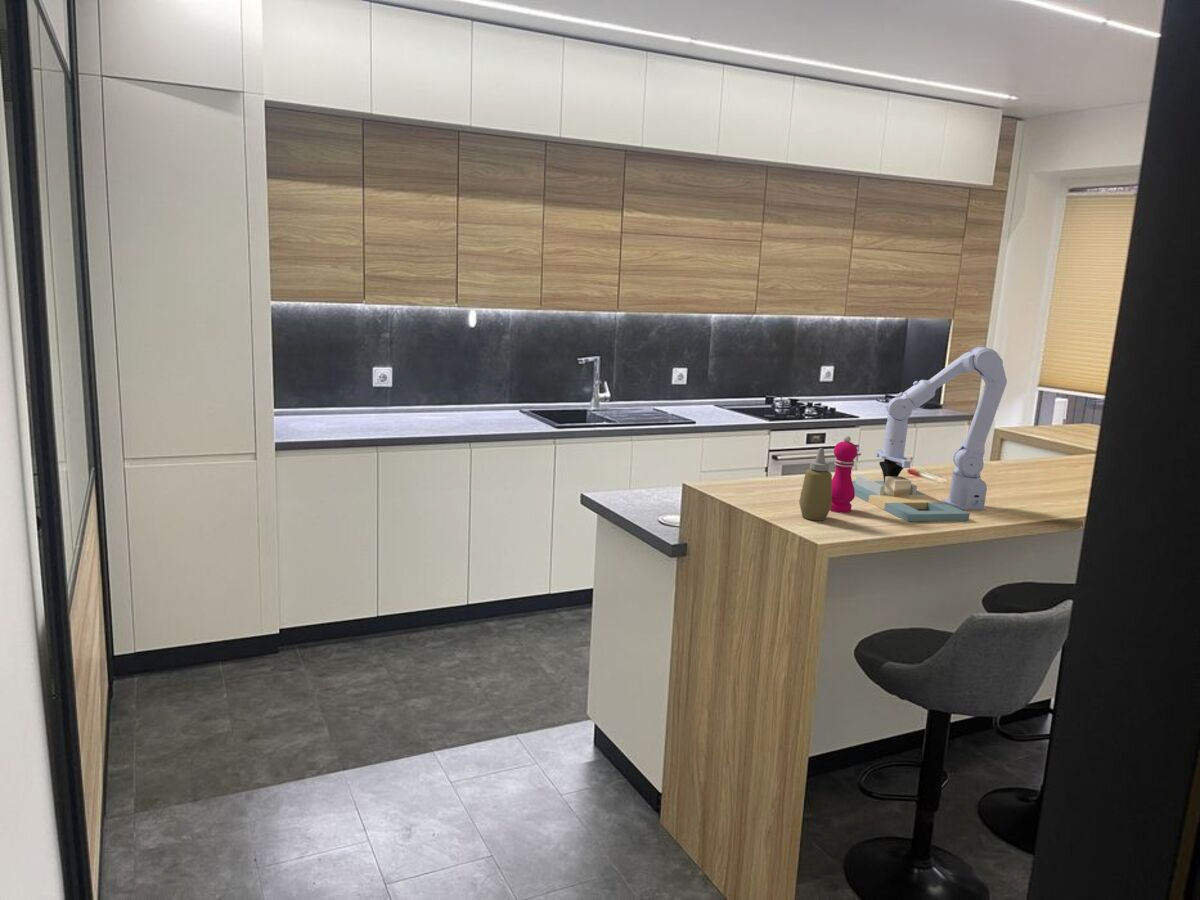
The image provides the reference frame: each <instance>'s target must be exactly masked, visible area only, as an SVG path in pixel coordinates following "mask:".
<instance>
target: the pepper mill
mask: <svg viewBox="0 0 1200 900" xmlns="http://www.w3.org/2000/svg"><path fill="white" fill-rule="evenodd" d="M851 439H852V438H851V436H849V435H845V436H844V437H843V441H839V442H838V443H836V444H835V446H834V448H833V455H834V456H835V457H836V458H835V459H834V465H835V471H834V475H833V476H832V506H831V509H830V510H831V512H834V511H835V513H839V512H842V513H843V514H845V513H846V514H847V513H851V511H852V507H853V505H852V503H851V502H852V501H853V500H854V499H855V490H854V486H853V483H852V481H853V480H852V470H853V467H854V466H855V459H856V457H857V456H858V447H857V446H856V444H855V443H853V442H851Z"/></svg>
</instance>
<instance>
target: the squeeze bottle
mask: <svg viewBox="0 0 1200 900" xmlns="http://www.w3.org/2000/svg"><path fill="white" fill-rule="evenodd" d="M825 457H826V456H825V449H824V448H820V447H819V448H818V450H817V454H816V456H815V460H813V461H810V464H809V469H807V470H805V473H804V478H803V483H802V487H801V492H800V498H799V501H798V502H799V508H800V512H801V517H802V518H804V519H807V520H811V521H825V520H826V519H827V517H828V514H829V512H830V509H831V506H832V479H833V475H832V474H833V473H831V472H830V463H829V462H826V460H825V459H826V458H825Z"/></svg>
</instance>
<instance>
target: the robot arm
mask: <svg viewBox="0 0 1200 900" xmlns="http://www.w3.org/2000/svg"><path fill="white" fill-rule="evenodd" d="M1004 368H1005V367H1004V361H1003V359H1002V357H1001V356H1000V355H999V353H998V352H997V351H996V350H994V349H992V348H988V347H987V346H980V345H979V346H974V347H973V348H971V349H970V351H966V352H965V353H963V354H962V355H960V356H958V357H957V358H956V359H954V360H953V361H952V362H951V363H949V364H947V366H946V367H944V368H943V369H941V370H940V371H939V372H938V373H937V374H935V375H934V376H932V377H931V378H930V379H928V380H926V379H920V380H919V381H918V380H914V382H913V383H912V384H913V385H912V386H911V387H910V388H908V389H906V390H905V391H904V392H902V391H901V392H899V393H898V396H895V397H893V398H891V399H890V401H889V402H888V404H887V405H886V411H887V412H888V415H887V418H886V420H887V421H886V424H885V432H884V441H883V448H882V449H876V450H875V455H874V456H875V457H876V458H880V459H883V461H879V462H878V463H879V466H880V469H881V472H882V476H883V481H884V484H885V477H886V476H900V473H901V472H902V471H903V470H904V469H910V468H911V464H912V463H911V462H912V461H911V460H909V459H907V458H906V457H905V450H906V442H907V434H908V433H907V432H908V421H909V417H910V416H911V415H912V413H913V411H914V410H915V411H916V410H917V409H918V408H920V407H921V406H922V405H924V404H925V403H927V402H928V401H930V400H932V399H933V398H934V397H935V396H936V391H937V389H939V388H940V387H942V386H944V385H945V384H947V383H948V382H950V381H951V380H953V379H955V378H956V377H958V376H959V375H961V374H965V373H967V374H968V373H975V372H976V371H977V372H978V374H979V376H980V377H981V378H982V380H983V382H984V383H985V384H984V387H983V389H982V393H981V394H980V395H981V396H980V398H979V401H978V404H977V406H976V409H975V412H974V415H973V418H972V420H971V424H970V425H969V429H968V432H967V435H966V437H965V438H964V439H963V441H962V442H961V445H960V447H959V448H958V449H957V450H956V451H955V452H954V453H953V457H952V458H953V459H952V460H953V464H954V466H955V467H954V469H952V474H951V481H950V487H949V493H948V494H949V496H948V498H945V499H944V498H943V499H941V501H942V502H944V503H947V504H949V505H951V506H954V507H956V508H958V509H960V510H963V511H966V510H967V511H968V510H969V511H971V510H972V511H973V510H974V511H976V510H978V511H979V510H981V511H982V510H983V511H984V510H987V507H986V506H985V504H986V496H987V490H988V488H987V483H986V482H985V481H984V480H983V479H982V478H981V472H982V470H984V465H985V463H984V455H985V451H986V450H985V449H986V447H985V444H986V441H987V438H988V437H989V433H990V431H991V428H992V425H993V423H994V422H993V421H994V419H995V417H996V414H997V411H998V408H999V406H1000V403H1001V400H1002V397H1003V395H1004V392H1005V389H1006V386H1007V383H1008V380H1007V376H1006V372H1005V369H1004Z"/></svg>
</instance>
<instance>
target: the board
mask: <svg viewBox="0 0 1200 900" xmlns="http://www.w3.org/2000/svg"><path fill="white" fill-rule="evenodd" d="M855 476H856V477H855V480H852V483H853V486H854V490H855V496H856V497H857V498H859V499H860V500H864V501H865V502H868V503H869V504H871V505H873V506H875V505H876V506H875V507H877V506H878V507H877V508H879V507H880V508H879V509H882V510H883V509H884V510H883V511H886V512H887V513H889V512H890V513H889V514H891V515H893V514H894V515H893V516H895V515H896V516H895V517H897V516H898V518H899V517H900V518H899V519H901V518H902V519H901V520H903V519H904V520H903V521H905V520H906V521H905V522H907V521H932V522H969V519H970V513H969V512H968V511H966V510H961V509H959V508H957V507H954V506H952V505H950V504H948V503H945V502H943V501H942V500H939V499H938V498H934V497H932V496H930V495H928V494H926V493H923V492H921V491H918V490H917V489H918V486H917V485H915V484H913V483H911V488H910V495H909V497H893V496H891V495H889V494H887V493H885V492H884V488H885V486H884V480H872V479H869V478H868V477H865V476H863V475H861V474H856V475H855ZM961 520H962V521H961Z"/></svg>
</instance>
